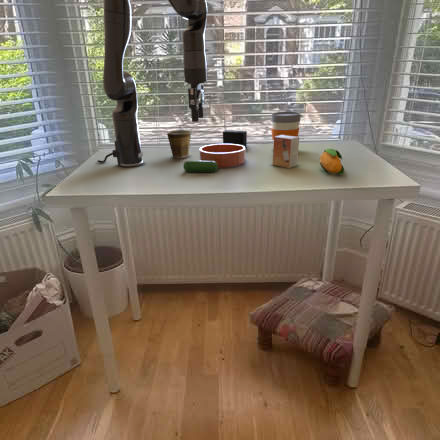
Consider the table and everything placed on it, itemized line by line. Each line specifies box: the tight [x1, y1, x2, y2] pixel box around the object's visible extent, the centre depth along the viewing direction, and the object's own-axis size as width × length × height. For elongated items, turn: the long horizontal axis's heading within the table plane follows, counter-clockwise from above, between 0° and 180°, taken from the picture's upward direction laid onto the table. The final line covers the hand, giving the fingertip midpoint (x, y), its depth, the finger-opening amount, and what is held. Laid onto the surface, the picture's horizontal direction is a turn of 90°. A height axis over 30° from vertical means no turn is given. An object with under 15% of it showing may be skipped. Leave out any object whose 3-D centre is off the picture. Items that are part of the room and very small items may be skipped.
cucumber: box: [182, 160, 219, 173], centre depth 149 cm, size 13×4×4 cm, turn 81°
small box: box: [272, 135, 300, 169], centre depth 151 cm, size 8×6×10 cm
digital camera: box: [222, 129, 248, 148], centre depth 185 cm, size 10×5×7 cm, turn 66°
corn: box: [319, 148, 345, 176], centre depth 141 cm, size 7×8×20 cm
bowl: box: [199, 143, 246, 169], centre depth 160 cm, size 18×18×6 cm
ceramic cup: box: [166, 129, 192, 159], centre depth 171 cm, size 13×10×10 cm
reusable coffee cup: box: [270, 111, 302, 144], centre depth 173 cm, size 13×13×15 cm
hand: (197, 119), depth 140 cm, fingers open, 8 cm apart
